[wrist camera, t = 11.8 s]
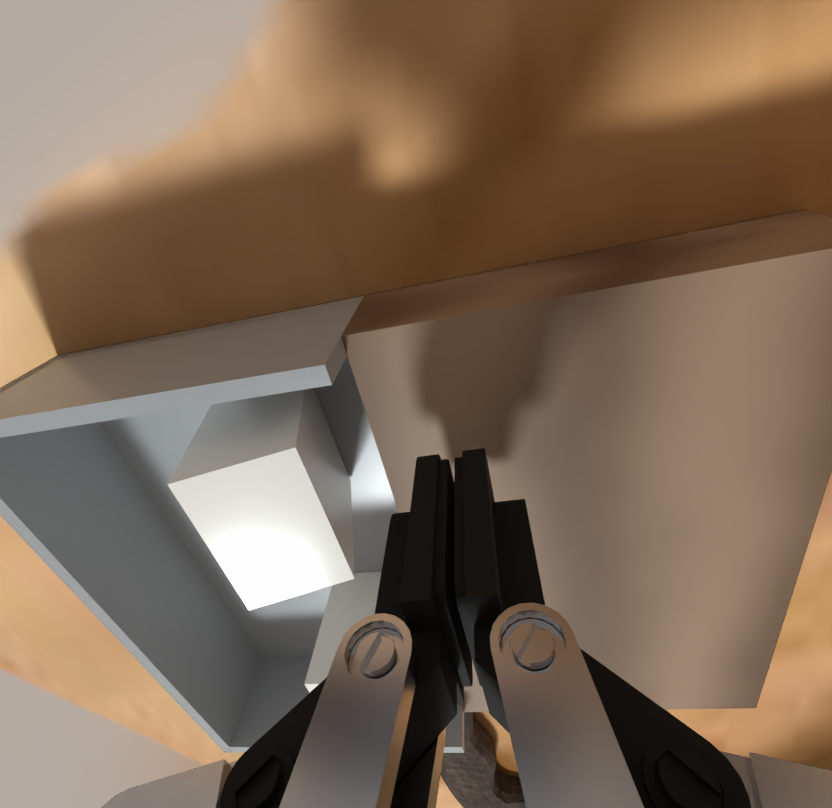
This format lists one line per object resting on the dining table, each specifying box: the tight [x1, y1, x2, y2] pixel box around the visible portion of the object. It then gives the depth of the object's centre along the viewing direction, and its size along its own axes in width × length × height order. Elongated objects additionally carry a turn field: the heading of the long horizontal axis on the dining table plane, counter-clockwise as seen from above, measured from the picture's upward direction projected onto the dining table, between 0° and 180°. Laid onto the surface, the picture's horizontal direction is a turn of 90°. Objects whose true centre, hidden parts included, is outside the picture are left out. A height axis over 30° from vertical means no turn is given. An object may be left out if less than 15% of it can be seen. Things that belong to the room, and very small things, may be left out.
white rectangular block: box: [167, 388, 355, 610], centre depth 13 cm, size 4×4×3 cm
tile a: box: [304, 572, 381, 693], centre depth 18 cm, size 4×4×3 cm
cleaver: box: [440, 712, 526, 808], centre depth 30 cm, size 30×10×2 cm, turn 24°
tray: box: [0, 296, 464, 753], centre depth 17 cm, size 11×18×4 cm, turn 12°
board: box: [341, 210, 832, 712], centre depth 15 cm, size 12×18×3 cm, turn 12°
